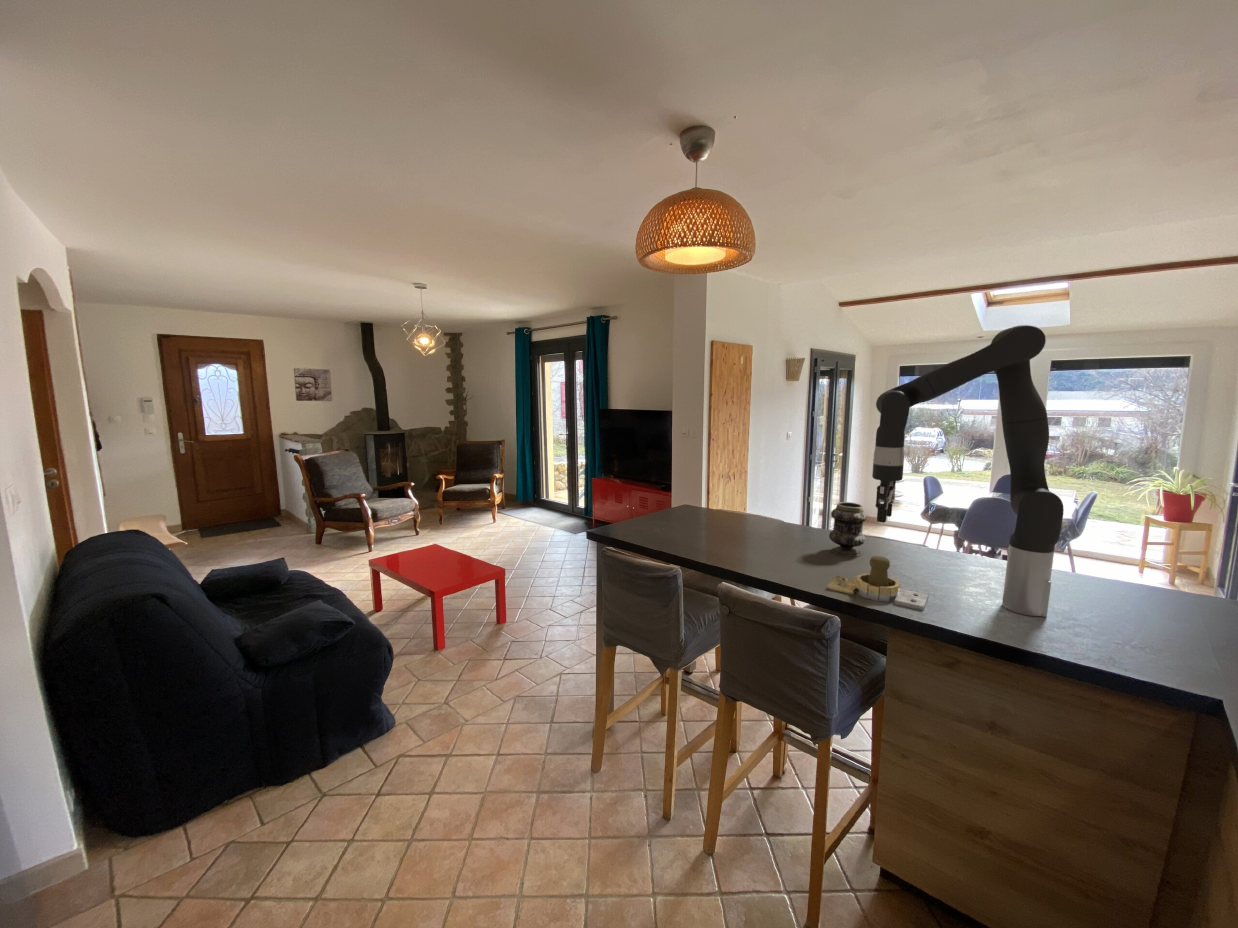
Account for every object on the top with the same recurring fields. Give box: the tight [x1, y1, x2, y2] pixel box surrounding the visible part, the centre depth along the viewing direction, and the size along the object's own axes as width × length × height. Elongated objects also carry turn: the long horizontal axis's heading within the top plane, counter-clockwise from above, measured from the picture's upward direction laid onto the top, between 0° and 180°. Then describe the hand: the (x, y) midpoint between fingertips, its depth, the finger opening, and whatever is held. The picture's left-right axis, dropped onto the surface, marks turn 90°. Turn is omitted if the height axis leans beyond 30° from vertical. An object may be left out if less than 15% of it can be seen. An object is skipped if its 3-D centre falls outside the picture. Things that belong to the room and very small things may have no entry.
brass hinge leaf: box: [827, 572, 901, 596], centre depth 146 cm, size 18×11×4 cm, turn 52°
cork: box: [868, 555, 891, 587], centre depth 143 cm, size 6×6×11 cm
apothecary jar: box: [828, 501, 868, 557], centre depth 180 cm, size 12×12×18 cm
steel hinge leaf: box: [855, 581, 929, 612], centre depth 142 cm, size 18×11×2 cm, turn 52°
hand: (884, 518), depth 141 cm, fingers open, 8 cm apart
